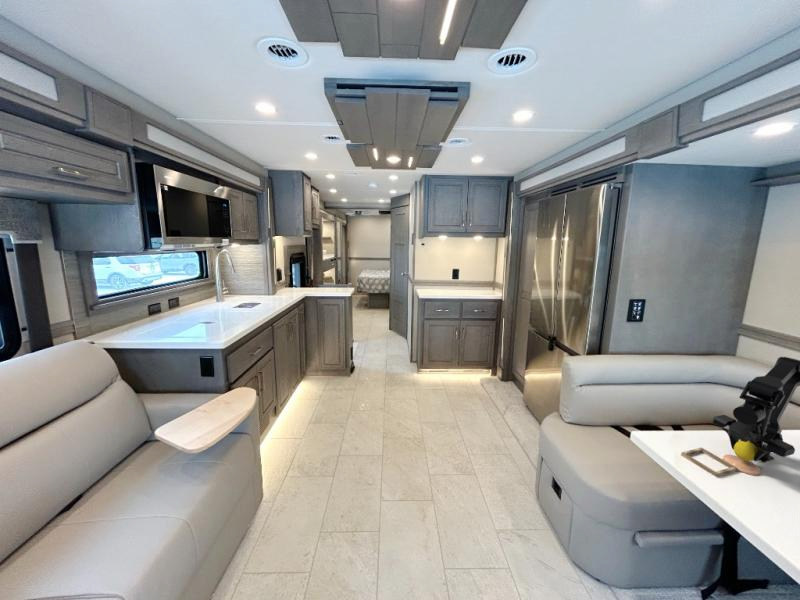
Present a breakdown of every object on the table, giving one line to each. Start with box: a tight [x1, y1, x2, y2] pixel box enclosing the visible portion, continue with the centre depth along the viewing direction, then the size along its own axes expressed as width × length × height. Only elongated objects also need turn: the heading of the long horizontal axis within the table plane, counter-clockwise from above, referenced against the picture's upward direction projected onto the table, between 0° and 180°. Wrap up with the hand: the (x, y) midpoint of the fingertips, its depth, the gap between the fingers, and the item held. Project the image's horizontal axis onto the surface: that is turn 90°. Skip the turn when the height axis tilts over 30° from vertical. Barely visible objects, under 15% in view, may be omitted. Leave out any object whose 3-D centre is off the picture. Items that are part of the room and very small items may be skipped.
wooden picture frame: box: [680, 447, 738, 478], centre depth 110 cm, size 11×11×1 cm
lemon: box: [733, 439, 757, 462], centre depth 108 cm, size 6×6×8 cm
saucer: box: [722, 454, 761, 476], centre depth 109 cm, size 9×9×1 cm
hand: (744, 454), depth 108 cm, fingers closed on lemon, 5 cm apart
